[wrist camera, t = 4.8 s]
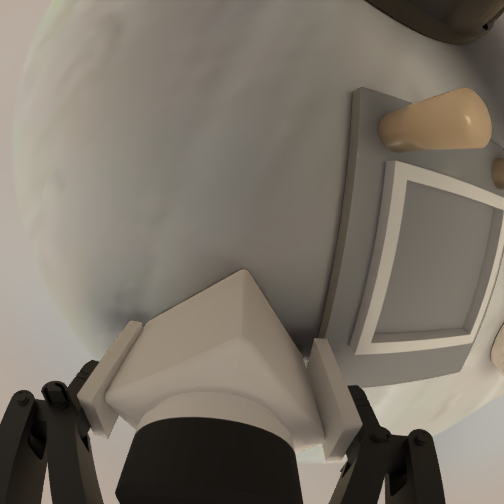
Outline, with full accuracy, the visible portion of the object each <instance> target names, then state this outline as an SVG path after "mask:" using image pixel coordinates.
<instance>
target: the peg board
mask: <svg viewBox="0 0 504 504" xmlns="http://www.w3.org/2000/svg"><path fill="white" fill-rule="evenodd" d="M491 132H492V126H491V119H490V115H489V112H488V109H487V107H486V105H485V103H484V102H483V100H482V99H481V98H480V96H479V95H478V94H477V93H476V92H474V91H473V90H471V89H469V88H461V89H457V90H454V91H451V92H447V93H444V94H441V95H438V96H435V97H432V98H429V99H426V100H423V101H420V102H417V103H414V104H412V103H409V102H407V101H404V100H401V99H398V98H395V97H393V96H390V95H386V94H383V93H380V92H377V91H374V90H370V89H367V88H363V87H360V88H358V89H357V90H356V91H354V92H353V94H352V115H351V130H350V143H349V155H348V165H347V175H346V183H345V192H344V200H343V207H342V214H341V221H340V228H339V234H338V240H337V246H336V252H335V258H334V264H333V269H332V274H331V279H330V285H329V290H328V294H327V299H326V304H325V308H324V313H323V317H322V322H321V326H320V330H319V335H318V339H327V340H328V342H329V345H330V347H331V349H332V352H333V354H334V356H335V359H336V361H337V363H338V366H339V368H340V370H341V373H342V375H343V377H344V380H345V382H346V385H347V386H349V385H358V386H359V387H360V388H366V387H376V386H384V385H392V384H399V383H406V382H412V381H418V380H424V379H429V378H434V377H439V376H444V375H448V374H453V373H457V372H460V371H461V369H462V367H463V365H464V363H465V361H466V359H467V356H468V354H469V352H470V350H471V348H472V346H473V343H474V341H475V339H476V337H477V334H478V332H479V329H480V327H481V324H482V322H483V319H484V316H485V314H486V311H487V308H488V305H489V302H490V299H491V296H492V293H493V290H494V287H495V284H496V280H497V277H498V273H499V269H500V265H501V261H502V257H503V253H504V148H502V147H500V146H499V145H497V144H496V143H494V142H492V141H490V138H491Z"/></svg>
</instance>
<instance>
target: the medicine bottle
mask: <svg viewBox="0 0 504 504" xmlns="http://www.w3.org/2000/svg"><path fill="white" fill-rule="evenodd" d="M105 401H106V402H107V404H108V405H109V406H110V407H111V408H112V409H113V410H114V411H115V412H117V413H118V414H119V415H120V416H121V417H122V418H123V419H124V420H125V421H126V422H128V423H129V424H130V425H131V426H132V427H133V428H135V429H136V433H135V436H134V438H133V441H132V444H131V447H130V450H129V453H128V455H127V458H126V461H125V464H124V467H123V470H122V473H121V477H120V479H119V482H118V486H117V488H116V492H115V494H116V497H117V499H118V501H119V503H120V504H303V499H302V493H301V487H300V481H299V474H298V468H297V462H296V456H295V453H297V452H300V451H303V450H305V449H308V448H311V447H313V446H316V445H318V444H321V443H322V442H323V441H324V440H325V433H324V429H323V426H322V422H321V419H320V415H319V412H318V408H317V404H316V401H315V397H314V394H313V390H312V387H311V384H310V380H309V377H308V373H307V370H306V366H305V363H304V360H303V356H302V354H301V353H300V351H299V349H298V348H297V346H296V345H295V343H294V342H293V340H292V339H291V337H290V335H289V334H288V332H287V331H286V329H285V328H284V326H283V325H282V323H281V321H280V320H279V318H278V317H277V315H276V314H275V312H274V310H273V309H272V307H271V306H270V304H269V303H268V301H267V299H266V298H265V296H264V295H263V293H262V292H261V290H260V288H259V287H258V285H257V284H256V282H255V280H254V279H253V277H252V276H251V274H250V273H249V272H248V271H247V270H245V269H242V270H239V271H238V272H236V273H234V274H232V275H230V276H229V277H227V278H225V279H223V280H221V281H220V282H218V283H216V284H214V285H213V286H211V287H209V288H207V289H205V290H204V291H202V292H200V293H198V294H196V295H195V296H193V297H191V298H189V299H187V300H186V301H184V302H182V303H180V304H178V305H177V306H175V307H173V308H171V309H169V310H167V311H166V312H164V313H162V314H160V315H158V316H157V317H155V318H153V319H151V320H149V321H148V322H147V323H146V325H145V326H144V328H143V330H142V332H141V333H140V335H139V337H138V338H137V340H136V342H135V343H134V345H133V347H132V348H131V350H130V352H129V353H128V355H127V357H126V358H125V360H124V362H123V363H122V365H121V367H120V368H119V370H118V372H117V374H116V375H115V377H114V379H113V381H112V382H111V384H110V386H109V388H108V389H107V391H106V393H105Z"/></svg>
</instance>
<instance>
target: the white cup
mask: <svg viewBox="0 0 504 504" xmlns="http://www.w3.org/2000/svg"><path fill="white" fill-rule="evenodd" d="M491 361H492V362H493V363H494V364H495V365H496V366H497V368H498V369H499V370H500V371H501V372H502V374H503V375H504V324H503V326H502V328H501V329H500V331H499V333H498V335H497V337H496V339H495V342H494V344H493V347H492V350H491Z"/></svg>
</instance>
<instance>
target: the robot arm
mask: <svg viewBox="0 0 504 504" xmlns="http://www.w3.org/2000/svg"><path fill="white" fill-rule="evenodd" d="M368 1H369V2H371V3H372V4H373V5H375V6H376V7H378V8H379V9H381V10H382V11H384V12H385V13H387V14H389V15H390V16H392V17H393V18H395V19H397V20H398V21H400V22H402V23H403V24H405V25H407V26H409V27H411V28H413V29H414V30H416V31H418V32H420V33H423V34H425V35H427V36H429V37H432V38H434V39H437V40H440V41H443V42H447V43H453V44H464V43H467V42H470V41H472V40H474V39H477V38H479V37H481V36H483V35H485V34H486V33H488V32H489V31H490V30H491V28H492V27H493V25H494V22H495V21H496V20H497V19H498V18H499V17H500V16H501V15H502V13H503V12H504V0H368ZM142 330H143V328H142V322H137V321H132V320H130V321H129V322H128V324H127V325H126V326H125V328H124V329H123V330H122V332H121V333H120V334H119V336H118V337H117V338H116V340H115V341H114V343H113V344H112V345H111V347H110V348H109V349H108V351H107V352H106V354H105V355H104V356H103V358H102V359H101V361H100V362H98V361H94V360H91V361H89V362H88V363H86V364H85V365H84V366H83V368H82V369H81V370H80V372H79V373H78V374H77V375H76V377H75V378H74V379H73V381H72V382H71V384H70V385H69V387H68V388H67V386H66V385H65V384H64V383H62V382H60V381H51V382H48V383H46V384H45V385H44V386H43V387H42V390H41V392H42V394H43V396H44V398H45V400H38V399H35V398H34V396H33V394H32V393H31V392H29V391H27V390H21V391H18V392H16V393H15V394H14V395H13V396H12V398H11V401H10V403H9V405H8V407H7V409H6V412H5V414H4V416H3V419H2V421H1V424H0V504H41V499H42V492H43V485H44V479H45V473H46V467H47V462H48V470H49V481H50V489H51V496H52V503H53V504H104V503H103V499H102V496H101V492H100V488H99V484H98V480H97V475H96V471H95V466H94V461H93V456H92V450H91V445H90V438H89V435H88V431H89V429H90V427H91V429H92V431H93V433H94V434H95V435H98V436H101V437H104V438H107V439H108V438H109V436H110V434H111V431H112V429H113V427H114V424H115V422H116V420H117V418H118V416H119V414H118V413H117V412H115V411H114V410H113V409H112V408H111V407H110V406H109V405H108V404H107V402H106V401H105V393H106V391H107V389H108V388H109V386H110V384H111V382H112V381H113V379H114V377H115V375H116V374H117V372H118V370H119V368H120V367H121V365H122V363H123V362H124V360H125V358H126V357H127V355H128V353H129V352H130V350H131V348H132V347H133V345H134V343H135V342H136V340H137V338H138V337H139V335H140V333H141V332H142ZM306 370H307V373H308V377H309V380H310V384H311V387H312V390H313V394H314V397H315V401H316V404H317V408H318V412H319V415H320V419H321V422H322V426H323V429H324V433H325V440H324V441H323V442H322V446H323V450H324V454H325V458H326V461H333V460H341V459H342V458H343V457H344V455H345V454H346V455H347V458H348V460H347V462H346V463H345V465H344V466H343V468H342V469H341V471H340V472H342V473H341V476H340V479H339V481H338V483H337V486H336V488H335V490H334V493H333V495H332V497H331V500H330V502H329V504H377V501H378V499H379V495H380V492H381V488H382V484H383V480H384V476H385V504H445V497H444V490H443V484H442V480H441V474H440V469H439V464H438V459H437V455H436V450H435V446H434V442H433V438H432V436H431V434H430V433H428V432H427V431H425V430H422V429H416V430H413V431H412V432H410V434H409V435H408V436H400V435H392V434H391V433H390V431H388V430H387V429H386V428H384V427H381V426H380V425H379V423H378V420H377V418H376V416H375V414H374V412H373V409H372V407H371V406H370V403H369V401H368V400H367V396H366V394H365V392H364V391H363V390H362V389H361V388H360V387H359V386H358V385H349V386H347V385H346V382H345V380H344V377H343V375H342V373H341V370H340V368H339V366H338V363H337V361H336V359H335V356H334V354H333V352H332V349H331V347H330V345H329V342H328V340H327V339H317V338H314V341H313V346H312V350H311V354H310V358H309V362H308V365H307V369H306Z"/></svg>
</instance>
